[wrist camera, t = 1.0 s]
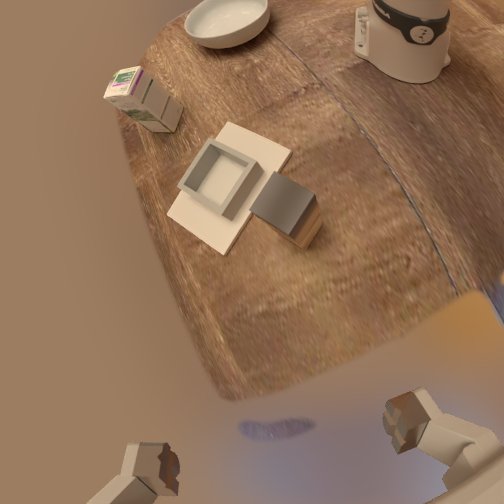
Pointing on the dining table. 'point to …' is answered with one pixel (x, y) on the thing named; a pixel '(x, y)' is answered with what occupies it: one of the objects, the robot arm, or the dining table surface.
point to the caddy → (226, 185)
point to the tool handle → (288, 210)
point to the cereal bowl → (227, 22)
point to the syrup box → (144, 100)
